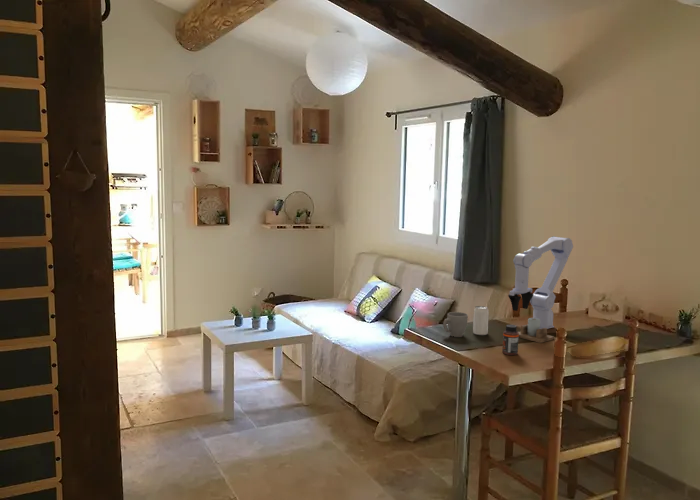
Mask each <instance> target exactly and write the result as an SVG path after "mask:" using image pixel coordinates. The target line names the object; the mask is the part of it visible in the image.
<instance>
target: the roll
mask: <svg viewBox="0 0 700 500" xmlns="http://www.w3.org/2000/svg"><path fill="white" fill-rule="evenodd" d="M527 324H528V331H527V335H529V336H536V331H537V329H540V319H538V318H533V317H529V318H528V319H527Z"/></svg>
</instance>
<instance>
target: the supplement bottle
mask: <svg viewBox="0 0 700 500" xmlns="http://www.w3.org/2000/svg"><path fill="white" fill-rule="evenodd" d="M518 332H519V331H517V325H516V324H506V326H505V330H503V333H502V354H504V355H506V356H507V355H508V356H516V355H518V352H519V340H520V337H519V333H518Z"/></svg>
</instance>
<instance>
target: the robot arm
mask: <svg viewBox="0 0 700 500" xmlns="http://www.w3.org/2000/svg"><path fill="white" fill-rule="evenodd" d="M573 248H574V244H573V240H572V238H570V237H562V236H561V237H559V236H551V237H549V238H547V241H545V242H544V243H542V244H541V245H539V246H538V247H537V246H530V248H528V250H524V251H523V252H522V253H517V254H516V255H515V256H514V258H513V261H512V262H513V264H514V269H515V276H514V277H515V278H514V279H515V281H514V288H512V290H509V294H508V295H507V296H508V298H509V301H510V303H511V307H512V308H511V309H512V311H514V312H517V311H518V310H519V304H520V301H521V300H522V303H521V304H522V309H525V310H528V308H529V305H531V306H532V307H531V308H533V309H532V310H533V311H532V318H538V319H540V329H541V328H547V330H548V329H551V328H555V325H554V312H553V310H552V308H553V307H554V305H555V300H556V298H557V296H556V294H555V293H554V290H555V287H556V285H557V284H558V281H559V280H560V277H561V274H562V272H563V271H564V268H565V266H566V264H567V262H568V260H569V257H570V255H571V252H572V250H573ZM549 251H551V253H552V256H554V259H553V262H552V264H551V266H550V268H549V270H548V273H547V275H546V276H545V279H544V281H543V282H542V285H541V287H538V288H537V289H535V291H534V292H533V288H531V287H529V276H530V275H529V274H530V267H531V266H532V265H533V263H534V262H535V261H536V260H539V259H540V258H541V257H542V256H543V254H545V253H547V252H549ZM519 295H520V296H519Z"/></svg>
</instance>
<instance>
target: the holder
mask: <svg viewBox="0 0 700 500" xmlns="http://www.w3.org/2000/svg"><path fill="white" fill-rule="evenodd" d="M527 331H528V323H527V324H524V325H520V331H518V333H519V339H524V340H528V341H532V342H536V343H539V344H540V343H546V342H549V341H552V340H554V339H555V336H554V335H549V334H548V329H547V328H541V329H537V331H536V336H529V335H527Z"/></svg>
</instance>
